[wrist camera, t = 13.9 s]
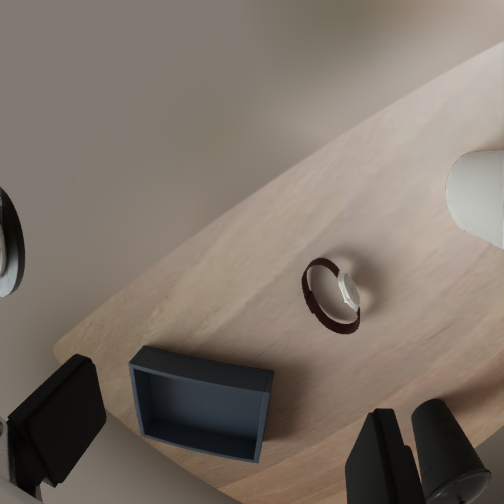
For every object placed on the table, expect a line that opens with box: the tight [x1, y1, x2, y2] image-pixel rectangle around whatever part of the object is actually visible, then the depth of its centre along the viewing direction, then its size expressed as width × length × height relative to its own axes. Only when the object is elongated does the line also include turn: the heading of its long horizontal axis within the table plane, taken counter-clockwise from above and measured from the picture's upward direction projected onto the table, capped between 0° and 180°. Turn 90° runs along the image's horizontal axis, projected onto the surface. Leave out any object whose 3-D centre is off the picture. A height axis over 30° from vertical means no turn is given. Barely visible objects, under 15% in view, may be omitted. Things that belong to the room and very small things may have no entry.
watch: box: [302, 258, 360, 334], centre depth 28 cm, size 8×5×4 cm, turn 33°
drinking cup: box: [411, 399, 492, 504], centre depth 22 cm, size 8×8×20 cm
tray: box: [129, 346, 274, 463], centre depth 34 cm, size 15×12×4 cm
